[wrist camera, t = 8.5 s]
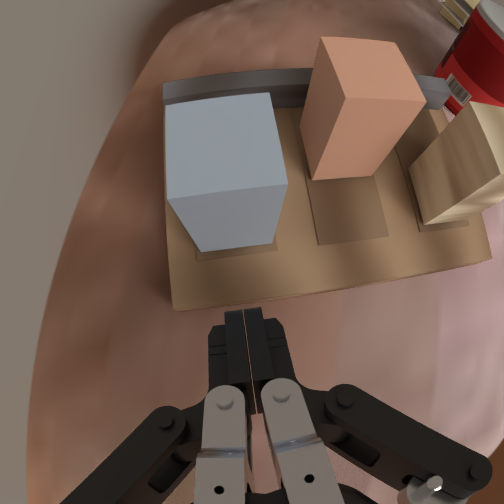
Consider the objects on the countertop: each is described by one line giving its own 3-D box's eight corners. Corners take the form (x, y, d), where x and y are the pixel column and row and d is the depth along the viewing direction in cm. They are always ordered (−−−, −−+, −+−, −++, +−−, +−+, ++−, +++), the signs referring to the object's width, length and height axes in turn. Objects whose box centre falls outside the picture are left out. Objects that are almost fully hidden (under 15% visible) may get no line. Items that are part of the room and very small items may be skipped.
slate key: (262, 179, 19) (269, 92, 11) (271, 243, 18) (288, 183, 10) (195, 187, 19) (165, 105, 11) (201, 252, 18) (167, 199, 10)
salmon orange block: (355, 124, 20) (394, 42, 12) (371, 176, 19) (426, 102, 11) (299, 126, 20) (320, 36, 12) (311, 180, 19) (345, 97, 11)
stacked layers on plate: (416, 7, 28) (429, -22, 23) (447, 4, 29) (460, -20, 24) (472, 57, 26) (491, 30, 21) (497, 50, 27) (514, 27, 22)
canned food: (496, 143, 23) (562, 83, 12) (431, 106, 24) (488, 26, 13) (489, 92, 25) (539, 34, 14) (430, 59, 25) (472, -13, 14)
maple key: (451, 167, 20) (514, 110, 12) (467, 219, 19) (542, 175, 11) (408, 168, 19) (469, 100, 12) (424, 224, 19) (500, 173, 11)
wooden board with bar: (419, 92, 24) (438, 61, 19) (476, 263, 20) (513, 250, 16) (169, 102, 23) (156, 64, 19) (180, 311, 20) (161, 307, 15)
